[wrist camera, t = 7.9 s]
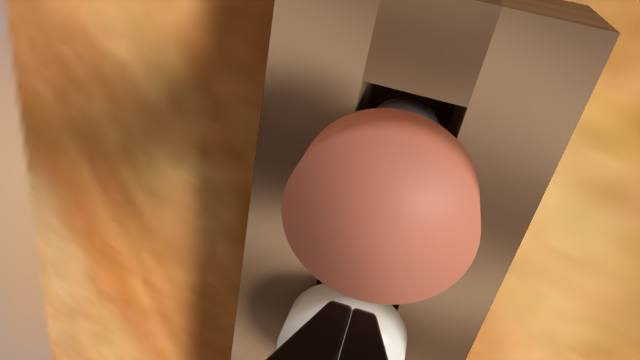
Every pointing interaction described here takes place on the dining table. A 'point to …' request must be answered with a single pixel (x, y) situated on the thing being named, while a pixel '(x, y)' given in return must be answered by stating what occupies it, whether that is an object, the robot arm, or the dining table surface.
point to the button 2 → (386, 316)
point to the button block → (466, 126)
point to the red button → (384, 205)
